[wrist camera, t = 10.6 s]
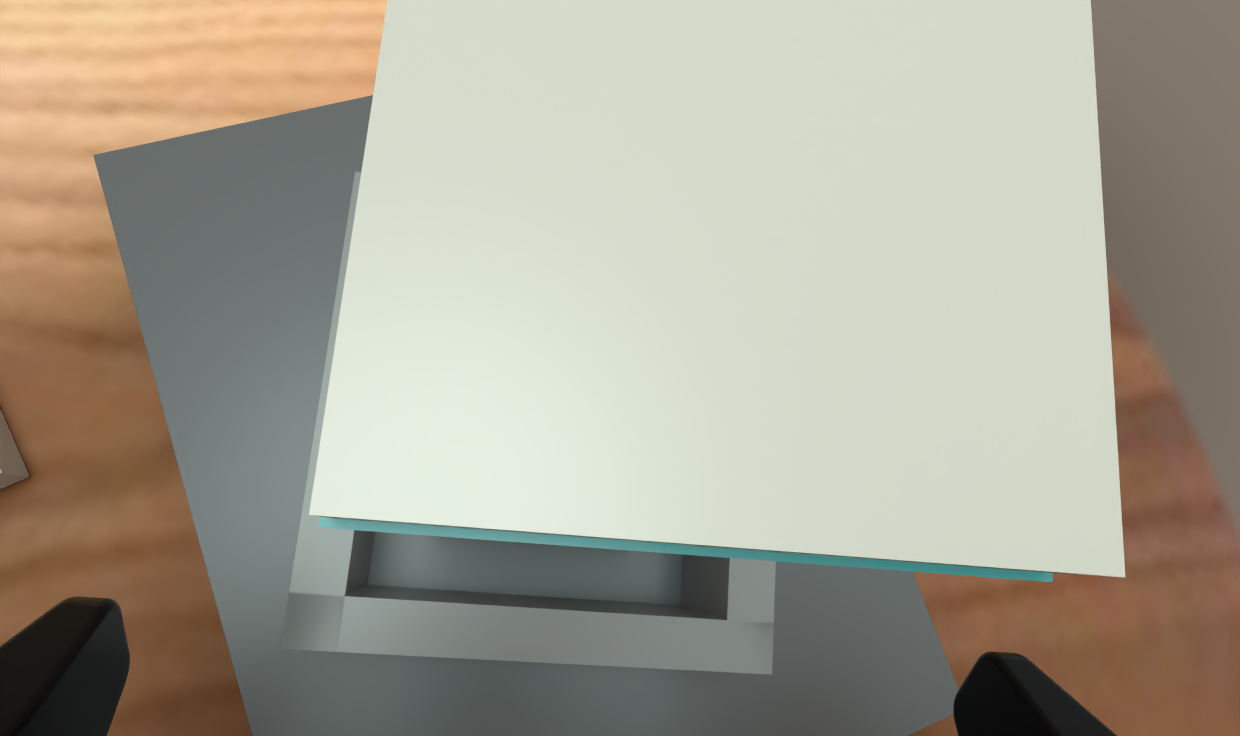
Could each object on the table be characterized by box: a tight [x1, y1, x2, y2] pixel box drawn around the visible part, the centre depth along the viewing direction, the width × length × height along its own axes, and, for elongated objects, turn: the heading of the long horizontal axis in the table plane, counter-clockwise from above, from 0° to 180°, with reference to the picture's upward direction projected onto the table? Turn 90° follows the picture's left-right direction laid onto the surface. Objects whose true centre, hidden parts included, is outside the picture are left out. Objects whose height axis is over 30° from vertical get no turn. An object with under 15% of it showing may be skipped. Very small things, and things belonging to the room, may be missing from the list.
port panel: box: [94, 95, 959, 736], centre depth 16 cm, size 16×13×4 cm
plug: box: [309, 0, 1125, 582], centre depth 10 cm, size 4×4×12 cm
